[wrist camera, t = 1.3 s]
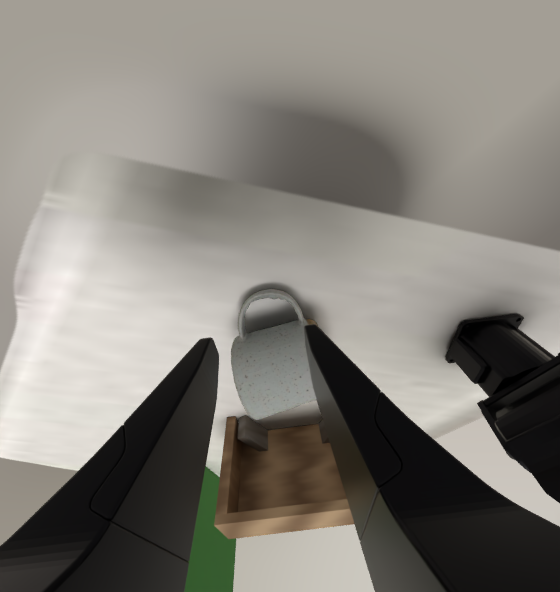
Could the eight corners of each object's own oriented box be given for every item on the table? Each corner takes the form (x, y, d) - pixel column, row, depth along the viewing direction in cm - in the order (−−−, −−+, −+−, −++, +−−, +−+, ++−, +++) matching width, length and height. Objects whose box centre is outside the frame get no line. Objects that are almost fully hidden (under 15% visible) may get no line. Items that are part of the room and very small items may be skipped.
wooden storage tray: (353, 401, 33) (389, 504, 24) (351, 423, 37) (381, 520, 27) (227, 417, 33) (214, 525, 24) (236, 438, 37) (228, 539, 28)
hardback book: (160, 469, 42) (69, 773, 22) (199, 461, 41) (141, 769, 21) (207, 499, 51) (173, 727, 32) (238, 493, 51) (224, 723, 31)
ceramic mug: (327, 349, 27) (348, 414, 20) (260, 368, 28) (260, 436, 22) (301, 271, 21) (317, 328, 15) (218, 299, 22) (200, 363, 16)
